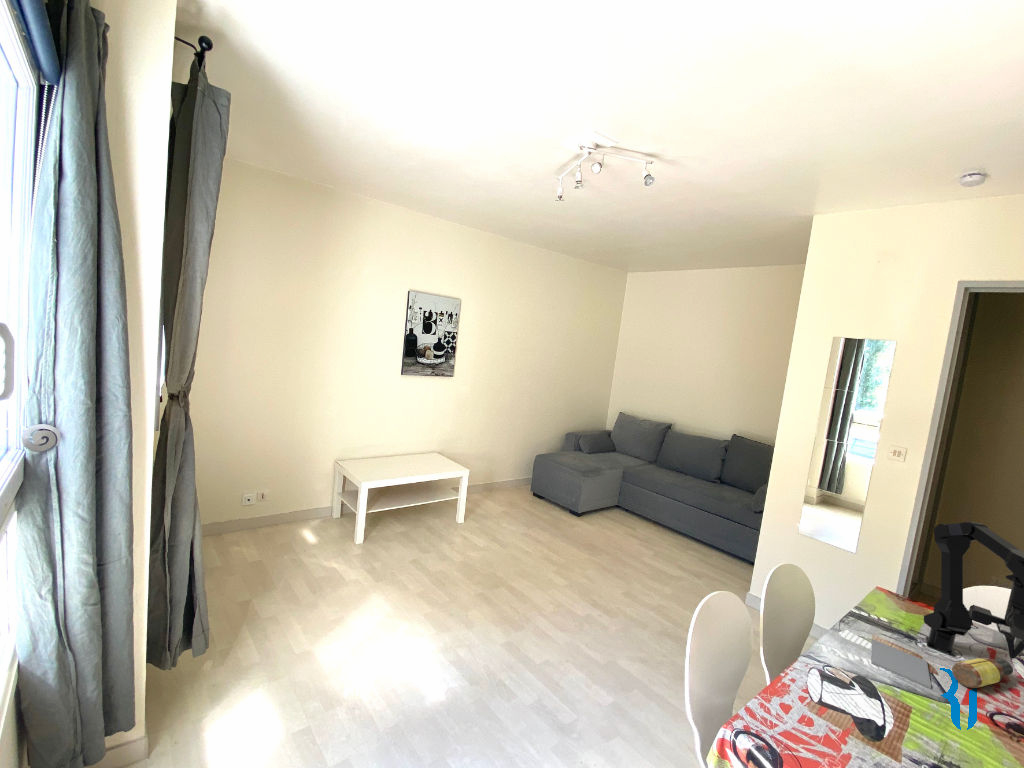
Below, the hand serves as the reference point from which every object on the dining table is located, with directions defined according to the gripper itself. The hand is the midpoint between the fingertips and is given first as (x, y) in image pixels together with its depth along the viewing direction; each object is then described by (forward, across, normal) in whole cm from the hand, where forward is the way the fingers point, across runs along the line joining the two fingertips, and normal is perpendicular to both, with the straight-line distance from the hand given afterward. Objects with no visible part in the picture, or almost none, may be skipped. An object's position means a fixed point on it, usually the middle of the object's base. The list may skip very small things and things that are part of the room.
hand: (1011, 657), depth 123 cm
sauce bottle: (+9, -9, -3) cm, 13 cm away
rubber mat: (+12, -22, -6) cm, 25 cm away
